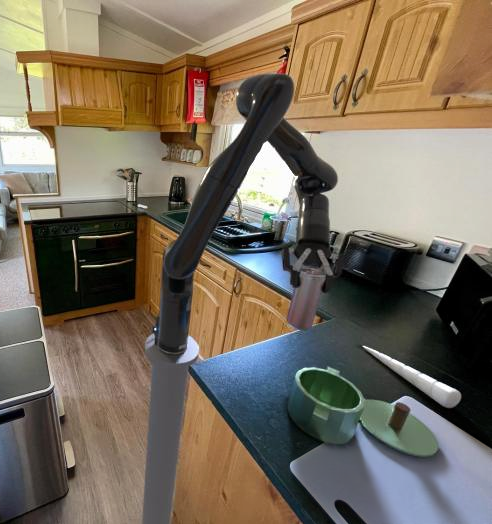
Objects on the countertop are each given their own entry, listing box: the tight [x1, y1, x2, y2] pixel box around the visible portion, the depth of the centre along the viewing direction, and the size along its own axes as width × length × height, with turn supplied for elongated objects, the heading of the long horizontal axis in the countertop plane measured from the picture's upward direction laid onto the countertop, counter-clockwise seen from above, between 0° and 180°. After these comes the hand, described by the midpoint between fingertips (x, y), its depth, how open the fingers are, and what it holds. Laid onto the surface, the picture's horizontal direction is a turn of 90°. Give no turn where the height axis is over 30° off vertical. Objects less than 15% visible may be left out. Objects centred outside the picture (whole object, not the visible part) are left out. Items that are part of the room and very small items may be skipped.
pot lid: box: [359, 399, 439, 458], centre depth 61 cm, size 14×14×6 cm
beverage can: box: [285, 267, 326, 332], centre depth 72 cm, size 6×6×15 cm
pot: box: [287, 366, 366, 445], centre depth 63 cm, size 13×18×8 cm
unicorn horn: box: [362, 345, 462, 409], centre depth 78 cm, size 5×24×5 cm, turn 6°
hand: (310, 289), depth 69 cm, fingers closed on beverage can, 6 cm apart
